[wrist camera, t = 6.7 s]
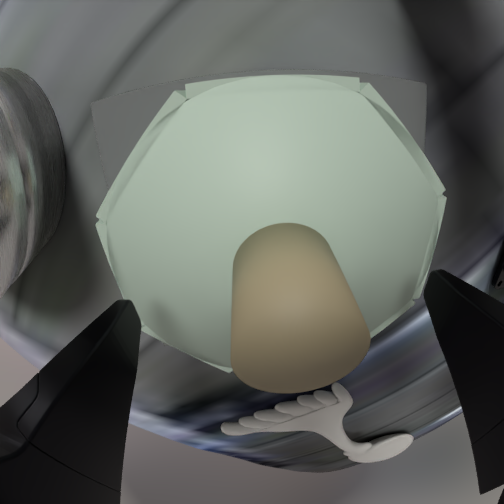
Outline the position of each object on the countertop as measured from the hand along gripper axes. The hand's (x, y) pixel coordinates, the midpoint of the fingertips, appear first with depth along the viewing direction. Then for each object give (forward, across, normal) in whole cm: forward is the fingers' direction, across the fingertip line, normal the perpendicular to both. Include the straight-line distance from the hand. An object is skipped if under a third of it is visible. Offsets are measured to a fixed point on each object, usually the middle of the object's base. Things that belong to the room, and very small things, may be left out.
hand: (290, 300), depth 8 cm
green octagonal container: (+4, 0, 0) cm, 4 cm away
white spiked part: (+5, -8, +24) cm, 26 cm away
